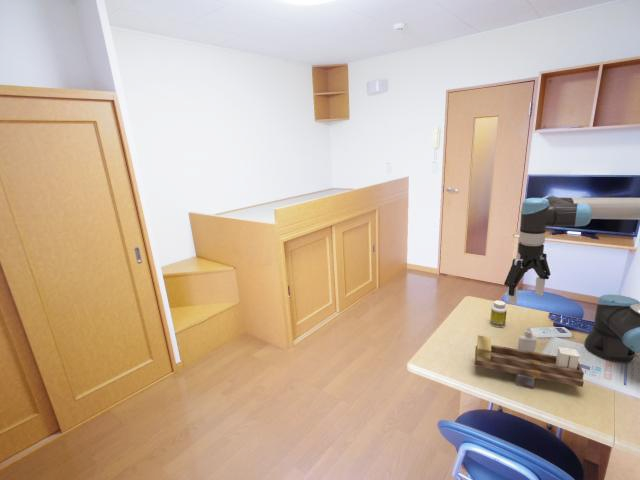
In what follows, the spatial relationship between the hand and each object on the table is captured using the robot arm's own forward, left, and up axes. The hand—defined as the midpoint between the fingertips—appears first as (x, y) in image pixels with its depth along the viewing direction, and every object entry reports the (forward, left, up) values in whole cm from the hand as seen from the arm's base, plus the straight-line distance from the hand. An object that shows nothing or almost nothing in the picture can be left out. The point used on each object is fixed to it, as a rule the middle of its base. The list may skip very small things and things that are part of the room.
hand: (525, 299), depth 121 cm
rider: (-13, +9, -21) cm, 26 cm away
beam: (-1, +9, -27) cm, 28 cm away
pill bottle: (+6, -28, -27) cm, 39 cm away
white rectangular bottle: (-3, -6, -27) cm, 28 cm away
